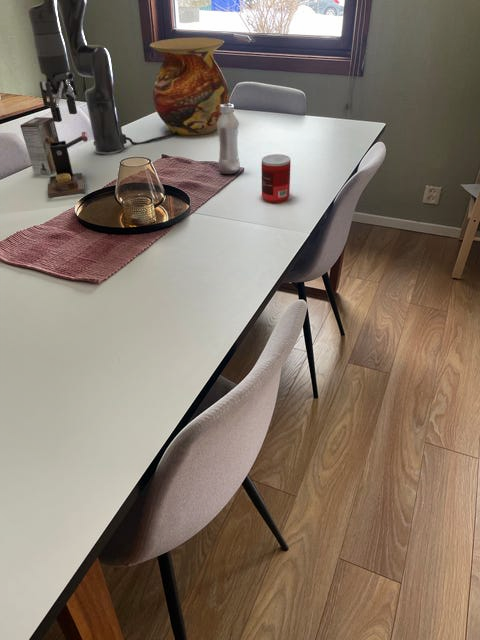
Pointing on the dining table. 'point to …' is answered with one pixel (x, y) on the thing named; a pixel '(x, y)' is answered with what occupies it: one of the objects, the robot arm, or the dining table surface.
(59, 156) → the lever bracket
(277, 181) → the canned food
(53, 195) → the switch plate
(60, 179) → the button
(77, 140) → the lever
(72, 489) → the dining table surface
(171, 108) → the vase
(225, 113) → the plastic bottle
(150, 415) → the dining table surface
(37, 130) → the coffee box
